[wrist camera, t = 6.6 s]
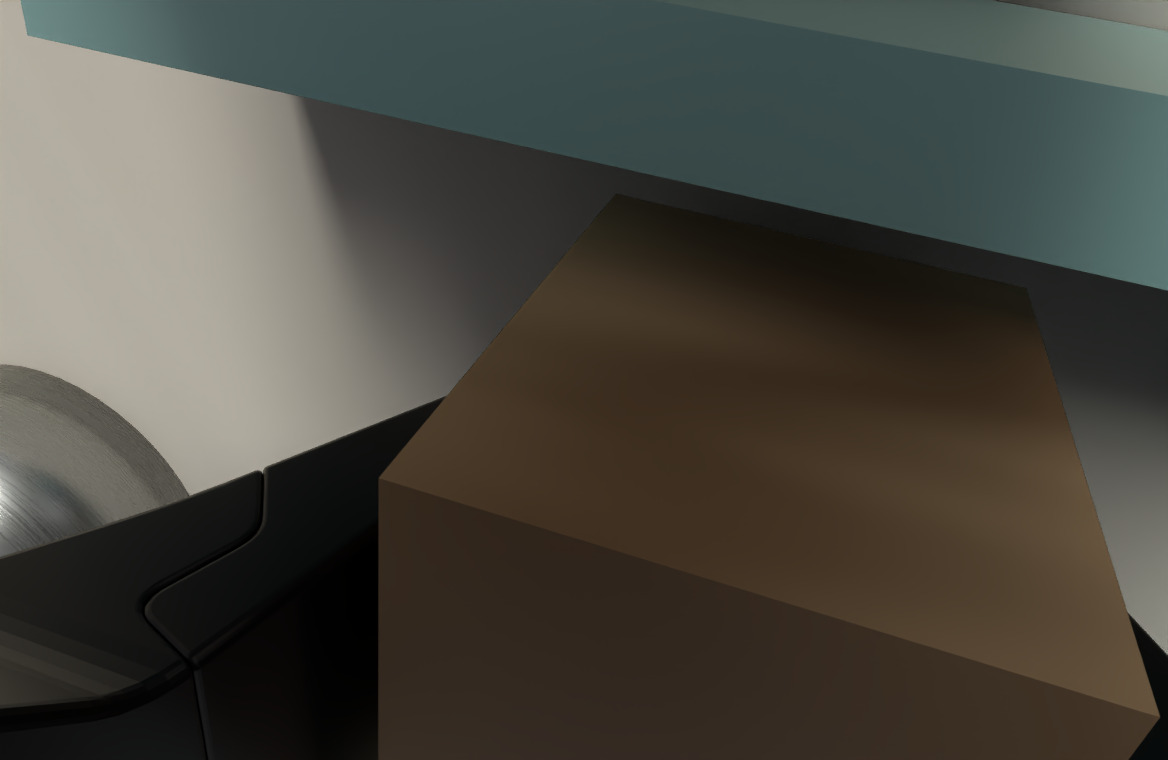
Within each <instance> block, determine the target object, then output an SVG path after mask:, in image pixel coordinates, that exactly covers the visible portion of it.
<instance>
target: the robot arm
mask: <svg viewBox="0 0 1168 760" xmlns="http://www.w3.org/2000/svg"><path fill="white" fill-rule="evenodd" d="M446 397H447V396H445V397H442V398H440V399H437V400H435V401H432V402H430V403H427V404H425V405H422V406H419V407H417V408H414V409H412V410H409V411H407V412H404V413H402V414H399V415H397V416H394V417H392V418H389V419H386V420H384V421H381V422H379V423H376V424H374V425H371V426H369V427H366V428H364V429H361V430H358V431H356V432H353V433H351V434H348V435H346V436H343V437H341V438H338V439H336V440H333V441H331V442H328V443H325V444H323V445H320V446H318V447H315V448H313V449H310V450H308V451H305V452H303V453H300V454H297V455H295V456H292V457H290V458H287V459H285V460H282V461H280V462H277V463H275V464H272V465H269V466H267V467H265V468H264V470H263V474H262V472H261V471H258V470H257V471H254V472H251V473H249V474H246V475H243V476H241V477H238V478H236V479H233V480H231V481H228V482H226V483H223V484H220V485H218V486H215V487H212V488H210V489H207V490H204V491H201V492H199V493H196V494H193V495H191V496H188V497H185V498H183V499H180V500H177V501H174V502H172V503H169V504H166V505H163V506H160V507H157V508H154V509H151V510H148V511H145V512H142V513H139V514H136V515H133V516H129V517H126V518H123V519H120V520H117V521H114V522H111V523H108V524H105V525H102V526H98V527H95V528H92V529H89V530H85V531H82V532H79V533H76V534H72V535H69V536H66V537H63V538H59V539H56V540H53V541H50V542H47V543H43V544H40V545H37V546H34V547H30V548H27V549H24V550H20V551H17V552H14V553H11V554H8V555H4V556H1V557H0V760H378V587H379V477H380V476H381V475H382V473H383V472H384V471H385V470H386V469H387V467H388V466H389V465H390V464H391V463H392V461H393V460H394V459H395V458H396V457H397V455H398V454H399V453H400V452H401V451H402V449H403V448H404V447H405V446H406V445H407V443H408V442H409V441H410V440H411V439H412V437H413V436H414V435H415V434H416V433H417V431H418V430H419V429H420V428H421V427H422V425H423V424H424V423H425V422H426V421H427V419H428V418H429V417H430V416H431V415H432V413H433V412H434V411H435V410H436V409H437V407H438V406H439V405H440V404H441V403H442V401H443V400H444V399H445V398H446ZM1127 613H1128V612H1127ZM1128 616H1129V619H1130V622H1131V626H1132V629H1133V632H1134V635H1135V638H1136V642H1137V645H1138V648H1139V651H1140V654H1141V658H1142V661H1143V664H1144V667H1145V670H1146V674H1147V677H1148V680H1149V683H1150V686H1151V690H1152V693H1153V696H1154V699H1155V702H1156V706H1157V709H1158V712H1159V715H1160V718H1159V719H1158V721H1157V722H1156V723H1155V725H1154V726H1153V727H1152V729H1151V730H1150V731H1149V733H1148V734H1147V735H1146V737H1145V738H1144V739H1143V741H1142V742H1141V743H1140V745H1139V746H1138V748H1137V749H1136V750H1135V752H1134V753H1133V754H1132V756H1131V757H1130V758H1129V760H1168V655H1167V654H1166V653H1165V652H1164V651H1163V650H1162V649H1161V648H1160V647H1159V645H1158V644H1157V643H1156V642H1155V641H1154V640H1153V639H1152V638H1151V637H1150V636H1149V635H1148V634H1147V633H1146V631H1145V630H1144V629H1143V628H1142V627H1141V626H1140V625H1139V624H1138V623H1137V622H1136V621H1135V620H1134V619H1133V618H1132V616H1131V615H1130V614H1129V613H1128Z"/></svg>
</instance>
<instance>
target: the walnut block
mask: <svg viewBox="0 0 1168 760" xmlns="http://www.w3.org/2000/svg"><path fill="white" fill-rule="evenodd" d="M1159 718H1160V715H1159V712H1158V709H1157V706H1156V702H1155V699H1154V696H1153V693H1152V690H1151V686H1150V683H1149V680H1148V677H1147V674H1146V670H1145V667H1144V664H1143V661H1142V658H1141V654H1140V651H1139V648H1138V645H1137V642H1136V638H1135V635H1134V632H1133V629H1132V626H1131V622H1130V619H1129V616H1128V613H1127V609H1126V606H1125V603H1124V600H1123V597H1122V593H1121V590H1120V587H1119V584H1118V581H1117V577H1116V574H1115V571H1114V568H1113V565H1112V561H1111V558H1110V555H1109V552H1108V549H1107V545H1106V542H1105V539H1104V536H1103V533H1102V529H1101V526H1100V523H1099V520H1098V517H1097V513H1096V510H1095V507H1094V504H1093V501H1092V497H1091V494H1090V491H1089V488H1088V484H1087V481H1086V478H1085V475H1084V472H1083V468H1082V465H1081V462H1080V459H1079V456H1078V452H1077V449H1076V446H1075V443H1074V440H1073V436H1072V433H1071V430H1070V427H1069V424H1068V420H1067V417H1066V414H1065V411H1064V408H1063V404H1062V401H1061V398H1060V395H1059V392H1058V388H1057V385H1056V382H1055V379H1054V376H1053V372H1052V369H1051V366H1050V363H1049V359H1048V356H1047V353H1046V350H1045V347H1044V343H1043V340H1042V337H1041V334H1040V331H1039V327H1038V324H1037V321H1036V318H1035V315H1034V311H1033V308H1032V305H1031V302H1030V299H1029V295H1028V292H1027V289H1026V288H1024V287H1020V286H1015V285H1011V284H1007V283H1002V282H998V281H993V280H989V279H985V278H980V277H976V276H972V275H967V274H963V273H959V272H954V271H950V270H946V269H941V268H937V267H932V266H928V265H924V264H919V263H915V262H911V261H906V260H902V259H898V258H893V257H889V256H885V255H880V254H876V253H872V252H867V251H863V250H858V249H854V248H850V247H845V246H841V245H837V244H832V243H828V242H824V241H819V240H815V239H811V238H806V237H802V236H797V235H793V234H789V233H784V232H780V231H776V230H771V229H767V228H763V227H758V226H754V225H750V224H745V223H741V222H736V221H732V220H728V219H723V218H719V217H715V216H710V215H706V214H702V213H697V212H693V211H689V210H684V209H680V208H675V207H671V206H667V205H662V204H658V203H654V202H649V201H645V200H641V199H636V198H632V197H628V196H623V195H619V194H615V195H614V197H613V198H612V199H611V200H610V201H609V203H608V204H607V205H606V206H605V207H604V209H603V210H602V211H601V212H600V213H599V215H598V216H597V217H596V218H595V219H594V221H593V222H592V223H591V224H590V225H589V227H588V228H587V229H586V230H585V231H584V233H583V234H582V235H581V236H580V237H579V239H578V240H577V241H576V242H575V243H574V245H573V246H572V247H571V248H570V249H569V251H568V252H567V253H566V254H565V255H564V257H563V258H562V259H561V260H560V261H559V263H558V264H557V265H556V266H555V267H554V269H553V270H552V271H551V272H550V273H549V275H548V276H547V277H546V278H545V279H544V281H543V282H542V283H541V284H540V285H539V286H538V288H537V289H536V290H535V291H534V292H533V294H532V295H531V296H530V297H529V298H528V300H527V301H526V302H525V303H524V304H523V306H522V307H521V308H520V309H519V310H518V312H517V313H516V314H515V315H514V316H513V318H512V319H511V320H510V321H509V322H508V324H507V325H506V326H505V327H504V328H503V330H502V331H501V332H500V333H499V334H498V336H497V337H496V338H495V339H494V340H493V342H492V343H491V344H490V345H489V346H488V348H487V349H486V350H485V351H484V352H483V354H482V355H481V356H480V357H479V358H478V360H477V361H476V362H475V363H474V364H473V366H472V367H471V368H470V369H469V370H468V372H467V373H466V374H465V375H464V376H463V378H462V379H461V380H460V381H459V382H458V384H457V385H456V386H455V387H454V388H453V390H452V391H451V392H450V393H449V394H448V395H447V397H446V398H445V399H444V400H443V401H442V403H441V404H440V405H439V406H438V407H437V409H436V410H435V411H434V412H433V413H432V415H431V416H430V417H429V418H428V419H427V421H426V422H425V423H424V424H423V425H422V427H421V428H420V429H419V430H418V431H417V433H416V434H415V435H414V436H413V437H412V439H411V440H410V441H409V442H408V443H407V445H406V446H405V447H404V448H403V449H402V451H401V452H400V453H399V454H398V455H397V457H396V458H395V459H394V460H393V461H392V463H391V464H390V465H389V466H388V467H387V469H386V470H385V471H384V472H383V473H382V475H381V476H380V477H379V587H378V760H1129V758H1130V757H1131V756H1132V754H1133V753H1134V752H1135V750H1136V749H1137V748H1138V746H1139V745H1140V743H1141V742H1142V741H1143V739H1144V738H1145V737H1146V735H1147V734H1148V733H1149V731H1150V730H1151V729H1152V727H1153V726H1154V725H1155V723H1156V722H1157V721H1158V719H1159Z"/></svg>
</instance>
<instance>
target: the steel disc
mask: <svg viewBox="0 0 1168 760" xmlns="http://www.w3.org/2000/svg"><path fill="white" fill-rule="evenodd" d="M188 496H189V494H188V493H187V491H186V489H185V488H184V486H183V484H182V482H181V481H180V479H179V478H178V477H177V475H176V474H175V472H174V471H173V470H172V468H171V467H170V466H169V464H168V463H167V462H166V460H165V459H164V458H163V457H162V456H161V455H160V453H159V452H158V451H157V450H156V449H155V448H154V446H153V445H152V444H151V443H150V442H149V441H148V440H147V439H146V438H145V437H144V436H143V435H142V434H141V433H140V432H139V431H138V430H137V429H136V428H134V427H133V426H132V425H131V424H130V423H129V422H127V421H126V420H125V419H124V418H123V417H121V416H120V415H119V414H118V413H117V412H115V411H114V410H112V409H111V408H110V407H108V406H107V405H106V404H104V403H103V402H101V401H100V400H99V399H97V398H95V397H94V396H92V395H90V394H89V393H87V392H85V391H84V390H82V389H80V388H79V387H76V386H74V385H72V384H70V383H68V382H66V381H64V380H62V379H60V378H57V377H55V376H52V375H49V374H47V373H44V372H41V371H38V370H34V369H30V368H26V367H22V366H13V365H0V557H1V556H4V555H8V554H11V553H14V552H17V551H20V550H24V549H27V548H30V547H34V546H37V545H40V544H43V543H47V542H50V541H53V540H56V539H59V538H63V537H66V536H69V535H72V534H76V533H79V532H82V531H85V530H89V529H92V528H95V527H98V526H102V525H105V524H108V523H111V522H114V521H117V520H120V519H123V518H126V517H129V516H133V515H136V514H139V513H142V512H145V511H148V510H151V509H154V508H157V507H160V506H163V505H166V504H169V503H172V502H174V501H177V500H180V499H183V498H185V497H188Z"/></svg>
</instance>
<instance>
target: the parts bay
mask: <svg viewBox="0 0 1168 760" xmlns="http://www.w3.org/2000/svg"><path fill="white" fill-rule="evenodd" d="M21 5H22V10H23V15H24V20H25V25H26V29H27V34H28V36H33V37H37V38H42V39H46V40H51V41H55V42H60V43H64V44H69V45H73V46H77V47H82V48H86V49H91V50H95V51H100V52H104V53H109V54H113V55H118V56H122V57H127V58H131V59H136V60H140V61H145V62H149V63H153V64H158V65H162V66H167V67H171V68H176V69H180V70H185V71H189V72H194V73H198V74H203V75H207V76H212V77H216V78H220V79H225V80H229V81H234V82H238V83H243V84H247V85H252V86H256V87H261V88H265V89H270V90H274V91H279V92H283V93H288V94H292V95H296V96H301V97H305V98H310V99H314V100H319V101H323V102H328V103H332V104H337V105H341V106H346V107H350V108H355V109H359V110H363V111H368V112H372V113H377V114H381V115H386V116H390V117H395V118H399V119H404V120H408V121H413V122H417V123H422V124H426V125H430V126H435V127H439V128H444V129H448V130H453V131H457V132H462V133H466V134H471V135H475V136H480V137H484V138H489V139H493V140H497V141H502V142H506V143H511V144H515V145H520V146H524V147H529V148H533V149H538V150H542V151H547V152H551V153H556V154H560V155H565V156H569V157H573V158H578V159H582V160H587V161H591V162H596V163H600V164H605V165H609V166H614V167H618V168H623V169H627V170H632V171H636V172H640V173H645V174H649V175H654V176H658V177H663V178H667V179H672V180H676V181H681V182H685V183H690V184H694V185H699V186H703V187H707V188H712V189H716V190H721V191H725V192H730V193H734V194H739V195H743V196H748V197H752V198H757V199H761V200H766V201H770V202H775V203H779V204H783V205H788V206H792V207H797V208H801V209H806V210H810V211H815V212H819V213H824V214H828V215H833V216H837V217H842V218H846V219H850V220H855V221H859V222H864V223H868V224H873V225H877V226H882V227H886V228H891V229H895V230H900V231H904V232H909V233H913V234H917V235H922V236H926V237H931V238H935V239H940V240H944V241H949V242H953V243H958V244H962V245H967V246H971V247H976V248H980V249H984V250H989V251H993V252H998V253H1002V254H1007V255H1011V256H1016V257H1020V258H1025V259H1029V260H1034V261H1038V262H1043V263H1047V264H1052V265H1056V266H1060V267H1065V268H1069V269H1074V270H1078V271H1083V272H1087V273H1092V274H1096V275H1101V276H1105V277H1110V278H1114V279H1119V280H1123V281H1127V282H1132V283H1136V284H1141V285H1145V286H1150V287H1154V288H1159V289H1163V290H1168V31H1166V30H1160V29H1154V28H1148V27H1143V26H1137V25H1131V24H1125V23H1120V22H1114V21H1108V20H1102V19H1097V18H1091V17H1085V16H1079V15H1073V14H1068V13H1062V12H1056V11H1050V10H1045V9H1039V8H1033V7H1027V6H1022V5H1016V4H1010V3H1004V2H999V1H993V0H21Z"/></svg>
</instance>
